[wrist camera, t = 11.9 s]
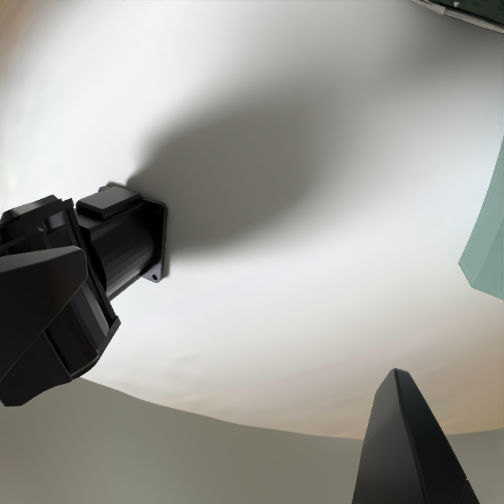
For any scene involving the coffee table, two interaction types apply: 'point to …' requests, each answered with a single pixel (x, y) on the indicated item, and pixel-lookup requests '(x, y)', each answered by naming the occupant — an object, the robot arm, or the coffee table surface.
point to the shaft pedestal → (488, 239)
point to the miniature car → (470, 11)
